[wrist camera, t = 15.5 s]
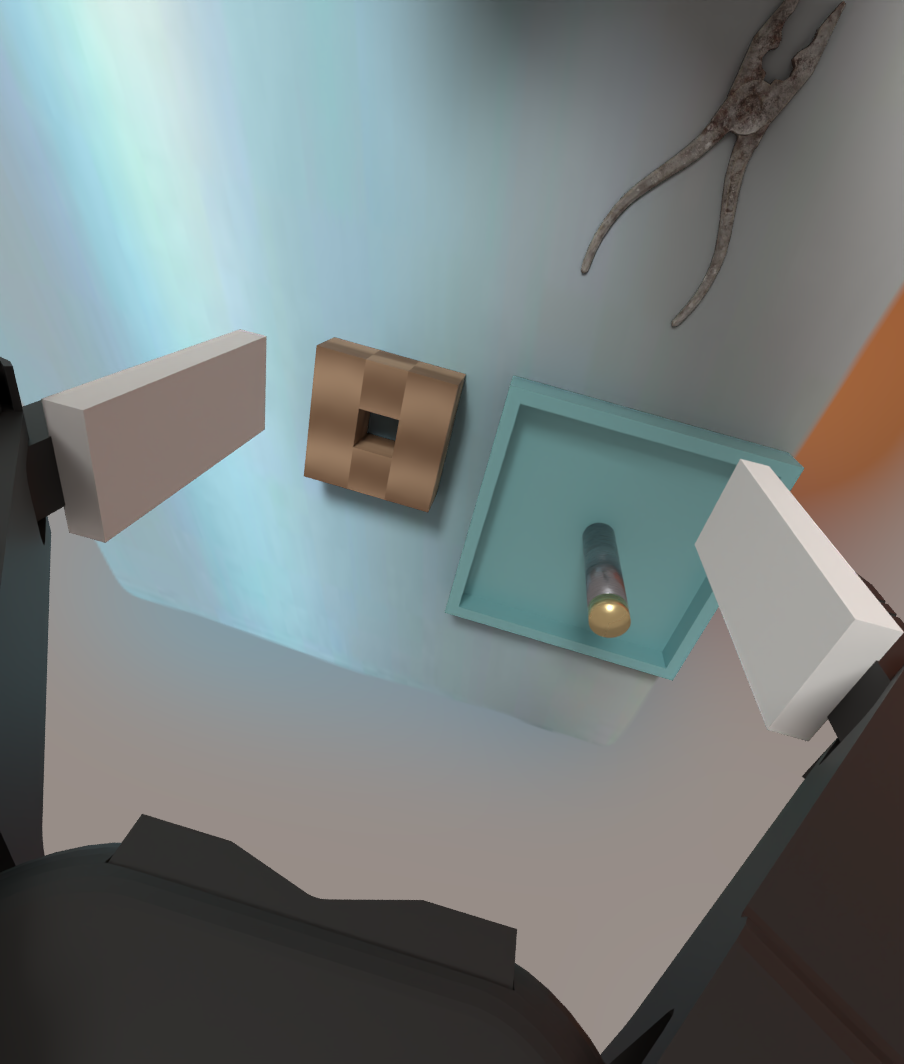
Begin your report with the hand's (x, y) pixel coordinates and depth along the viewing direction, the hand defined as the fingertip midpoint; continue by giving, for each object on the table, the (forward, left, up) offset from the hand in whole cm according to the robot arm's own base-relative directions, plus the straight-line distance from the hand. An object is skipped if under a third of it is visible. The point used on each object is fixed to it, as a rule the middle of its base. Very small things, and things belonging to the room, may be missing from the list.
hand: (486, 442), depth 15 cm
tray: (+18, +12, -33) cm, 39 cm away
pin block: (+13, -10, -33) cm, 37 cm away
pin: (+18, +12, -32) cm, 39 cm away
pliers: (-11, +8, -34) cm, 36 cm away
